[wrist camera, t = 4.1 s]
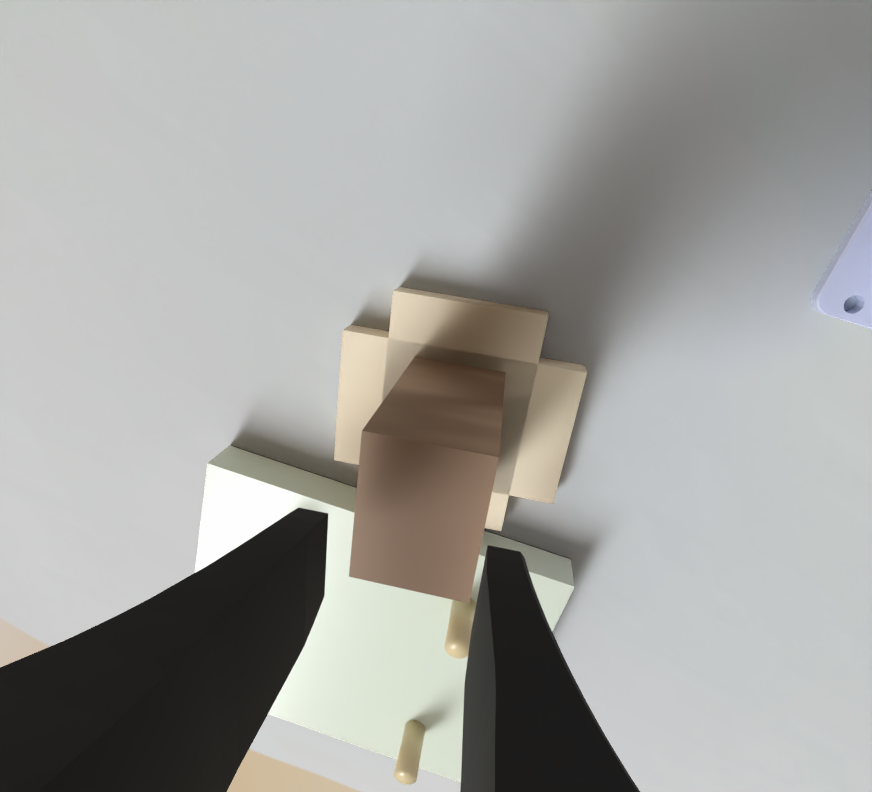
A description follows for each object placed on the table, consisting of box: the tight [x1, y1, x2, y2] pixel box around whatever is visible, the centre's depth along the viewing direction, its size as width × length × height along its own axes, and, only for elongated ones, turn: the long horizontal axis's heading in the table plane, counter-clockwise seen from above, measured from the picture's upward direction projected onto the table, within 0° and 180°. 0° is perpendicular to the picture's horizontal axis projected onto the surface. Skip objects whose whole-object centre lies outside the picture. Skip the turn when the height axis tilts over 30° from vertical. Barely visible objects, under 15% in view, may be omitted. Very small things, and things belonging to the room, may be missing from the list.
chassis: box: [195, 445, 575, 784], centre depth 20 cm, size 14×12×4 cm
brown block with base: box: [334, 287, 587, 603], centre depth 15 cm, size 8×8×7 cm
